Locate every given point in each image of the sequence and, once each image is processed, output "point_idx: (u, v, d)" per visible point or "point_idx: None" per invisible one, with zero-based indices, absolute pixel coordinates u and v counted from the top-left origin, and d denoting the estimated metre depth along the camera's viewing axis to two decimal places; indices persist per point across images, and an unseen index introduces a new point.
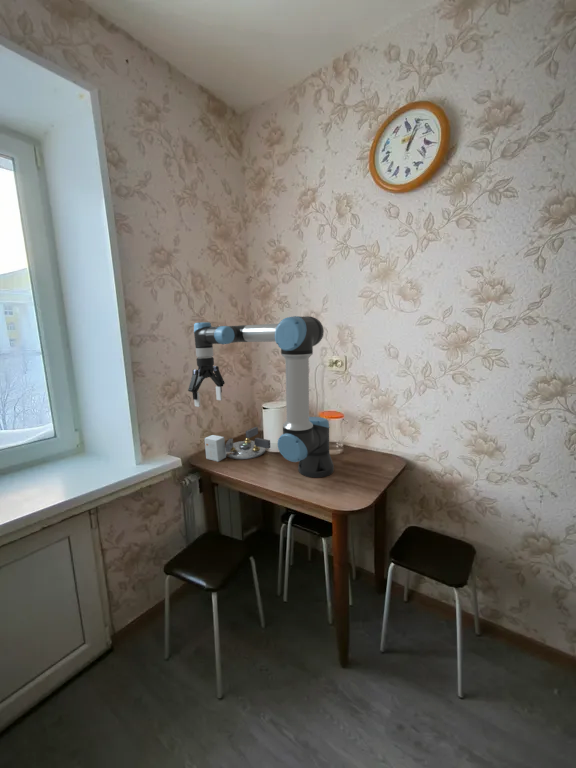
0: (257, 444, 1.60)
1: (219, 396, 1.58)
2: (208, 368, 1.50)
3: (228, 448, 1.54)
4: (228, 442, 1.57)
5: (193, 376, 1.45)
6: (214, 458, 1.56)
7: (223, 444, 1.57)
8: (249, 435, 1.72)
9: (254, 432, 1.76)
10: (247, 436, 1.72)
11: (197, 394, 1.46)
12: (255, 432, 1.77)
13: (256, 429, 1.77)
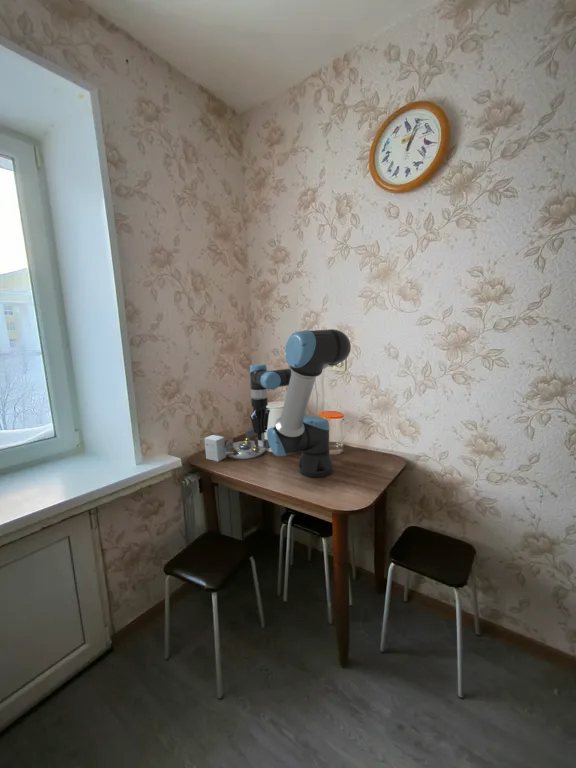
0: (257, 444, 1.60)
1: None
2: None
3: (228, 448, 1.54)
4: (228, 442, 1.57)
5: (253, 421, 1.52)
6: (214, 458, 1.56)
7: (223, 444, 1.57)
8: (249, 435, 1.72)
9: None
10: (247, 436, 1.72)
11: (262, 435, 1.56)
12: None
13: None
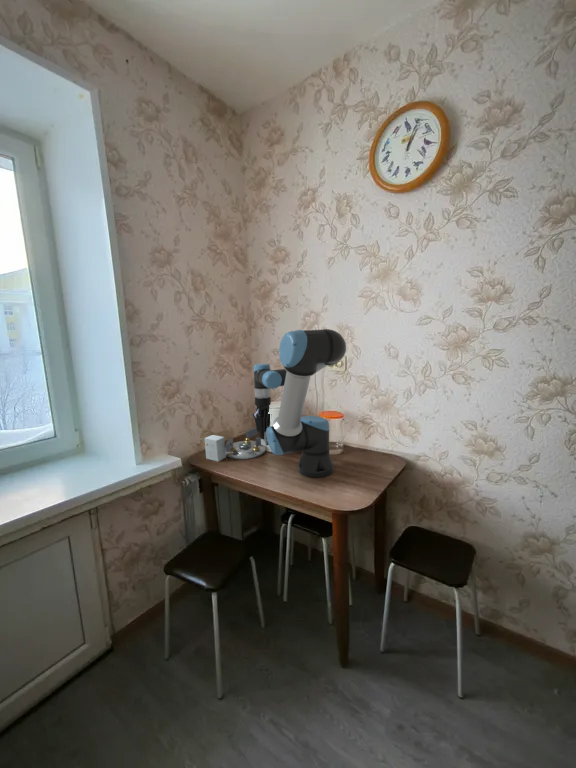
0: (259, 443, 1.61)
1: (264, 441, 1.59)
2: None
3: (228, 448, 1.54)
4: (228, 442, 1.57)
5: (256, 419, 1.54)
6: (214, 458, 1.56)
7: (223, 444, 1.57)
8: (249, 435, 1.72)
9: (254, 432, 1.76)
10: (247, 436, 1.72)
11: (264, 434, 1.58)
12: (255, 432, 1.77)
13: (256, 429, 1.77)
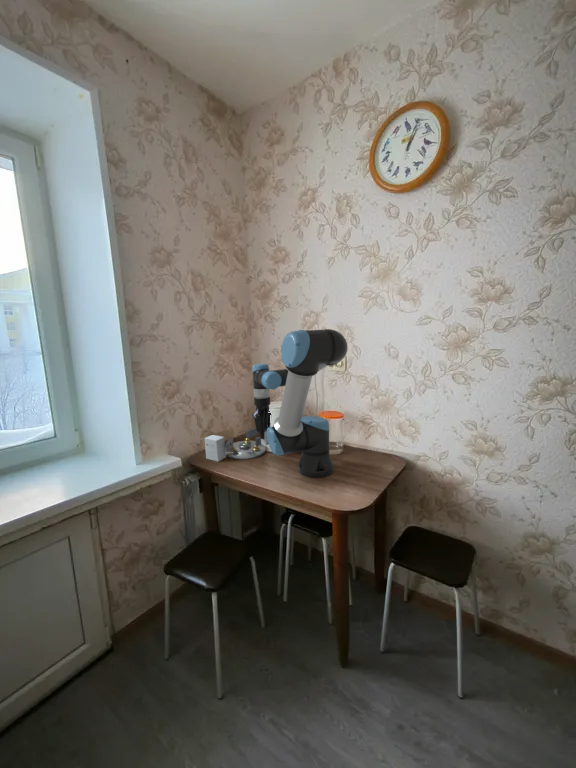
0: (259, 443, 1.61)
1: None
2: None
3: (228, 448, 1.54)
4: (228, 442, 1.57)
5: (255, 420, 1.53)
6: (214, 458, 1.56)
7: (223, 444, 1.57)
8: (249, 435, 1.72)
9: (254, 432, 1.76)
10: (247, 436, 1.72)
11: (264, 434, 1.58)
12: (255, 432, 1.77)
13: (256, 429, 1.77)
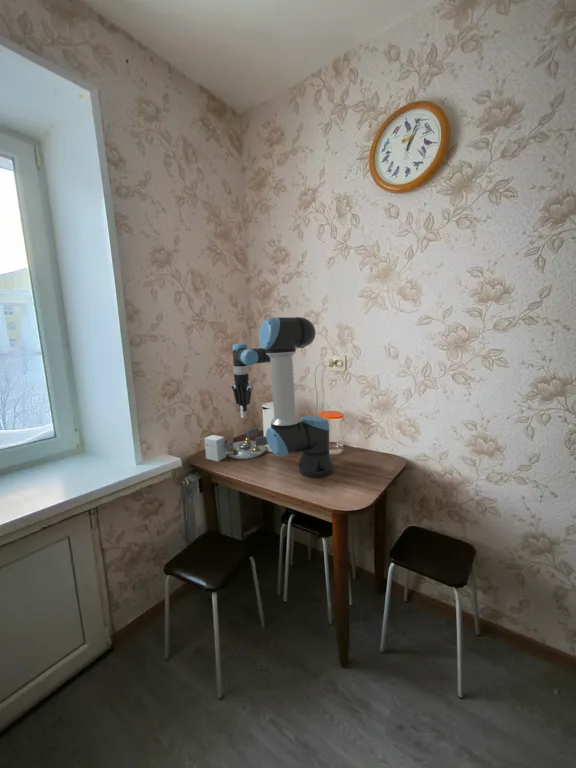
0: (259, 443, 1.61)
1: None
2: None
3: (228, 448, 1.54)
4: (228, 442, 1.57)
5: None
6: (214, 458, 1.56)
7: (223, 444, 1.57)
8: (249, 435, 1.72)
9: (254, 432, 1.76)
10: (247, 436, 1.72)
11: None
12: (255, 432, 1.77)
13: (256, 429, 1.77)
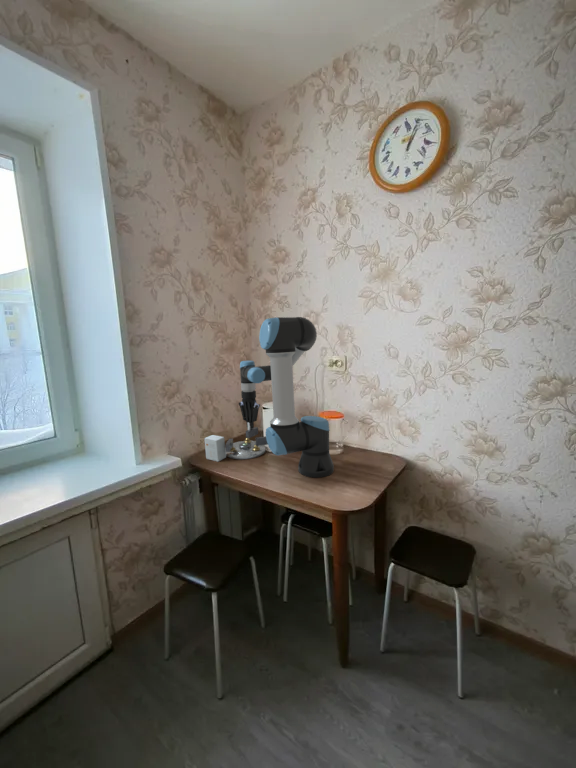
0: (259, 443, 1.61)
1: None
2: None
3: (228, 448, 1.54)
4: (228, 442, 1.57)
5: None
6: (214, 458, 1.56)
7: (223, 444, 1.57)
8: (249, 435, 1.72)
9: (254, 432, 1.76)
10: (247, 436, 1.72)
11: (247, 424, 1.75)
12: (256, 432, 1.77)
13: (256, 429, 1.77)
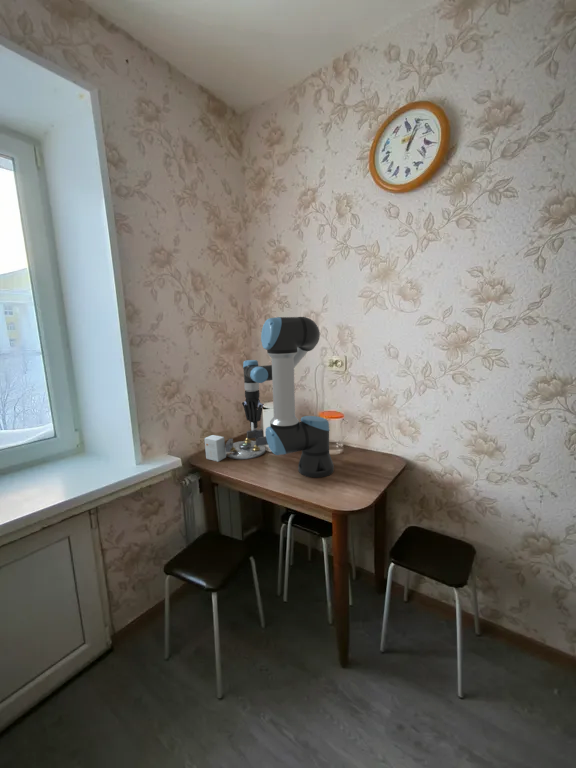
0: (259, 443, 1.61)
1: None
2: None
3: (228, 448, 1.54)
4: (228, 442, 1.57)
5: None
6: (214, 458, 1.56)
7: (223, 444, 1.57)
8: (248, 436, 1.72)
9: (256, 434, 1.72)
10: (247, 436, 1.72)
11: (251, 423, 1.74)
12: (259, 434, 1.73)
13: (260, 432, 1.73)
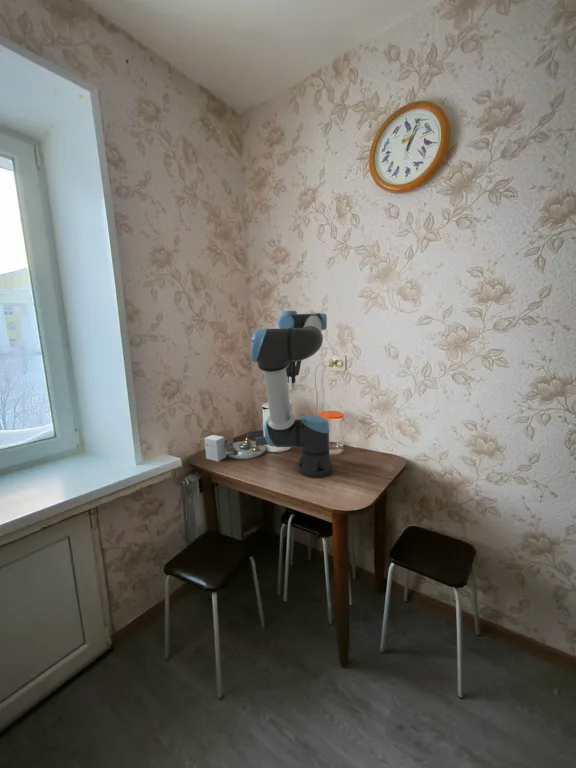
0: (259, 443, 1.61)
1: None
2: None
3: (228, 448, 1.54)
4: (228, 442, 1.57)
5: None
6: (214, 458, 1.56)
7: (223, 444, 1.57)
8: (248, 436, 1.72)
9: (256, 434, 1.72)
10: (247, 436, 1.72)
11: (289, 378, 1.68)
12: (259, 435, 1.73)
13: (260, 432, 1.72)
